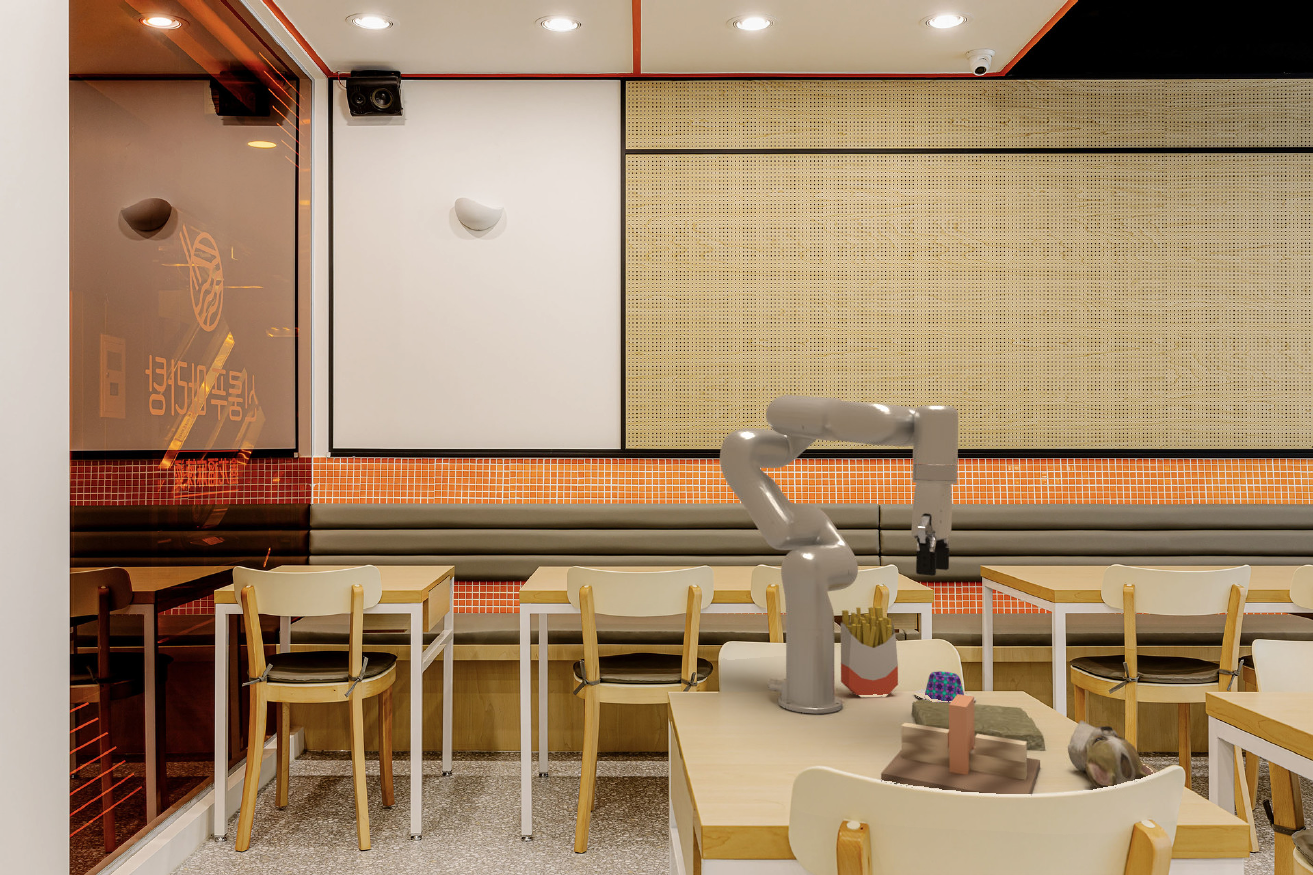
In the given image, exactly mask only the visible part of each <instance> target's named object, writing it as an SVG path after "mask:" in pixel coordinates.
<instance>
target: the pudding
mask: <svg viewBox="0 0 1313 875" xmlns="http://www.w3.org/2000/svg"><path fill="white" fill-rule="evenodd" d="M961 681H962V680H961V678H960V676H959V675H958V674H957V673H954V672H950V671H942V670H941V671H940V670H939V671H932V672H931V673H930V674H929V676H928V679H927V683H926V687H925V688H922V689H917V690H916V691H914V693H925V695H928V696H929V697H930V698H931V699H938V700H941V701H948V702H949V701H952V700H953V699H954V698H955V697H956V696H957V694H959V695H964V693H965V692H964V688H963V686H962V685H963V684H962V682H961ZM966 695H971V694H970V693H968V694H966ZM917 698H919V697H917ZM919 699H920V698H919ZM922 700H924V699H922ZM976 700H977V699H976V697H975V696H974V702H976Z"/></svg>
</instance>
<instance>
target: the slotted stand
mask: <svg viewBox="0 0 1313 875" xmlns="http://www.w3.org/2000/svg"><path fill="white" fill-rule="evenodd" d="M1040 769H1041V760H1040V759H1036V758H1032V757H1031V758H1030V757H1028V750H1027V742H1026V741H1020V740H1014V739H1007V738H1001V737H994V736H988V735H981V734H977V735H976V736H975V750H972V749H971V751H970V752H969V772H968V774H967V775H965V774H959V773H954V772H950V762H949V729H943V728H936V727H930V726H923V725H917V724H916V723H909V722H904V723H902V725H901V749H900V751H899V752H898V753H897V754H896V755H895V756H894V758H893V759H892V760H891V761H890V763H888V765H887V766H886V767H885V768H884V769H883V770H882V771H881V773H880V780H881V779H882V780H884V781H892V782H896V783H900V784H908V785H913V786H924V787H929V788H939V789H942V790H956V791H961V792H979V793H996V794H1031V795H1033V791H1034V787H1035V785H1036V782H1037V779H1038V776H1039V772H1040Z"/></svg>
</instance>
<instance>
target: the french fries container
mask: <svg viewBox="0 0 1313 875" xmlns="http://www.w3.org/2000/svg"><path fill="white" fill-rule="evenodd" d="M855 608H856V612H851V613H850V612H849V610H847V609H846V610H845V609H844V610H841V614H842V615H841V616H842V617H841V618H842V622H840V682H841V683H842V684H843V685H844V686H845V687H846V688H847V689H848V690H849V691H850V693H853V694H854V693H855V694H857V695H873V694H877V695H883V694H889V695H890V694H891V693H892V692H893V691H894V690H895V688H896V687H897V686H898V685H899V663H898V650H897V649H898V648H897V639H896V630H895V626H894V623H893V622H892V621H893V620H892V618H889V617H887V616H885V617H884V615H883V614H884V613H883V612H884V611H883V607H882V606H875V607H868V613H863V617H862V614H861V613H862V612H861V610H862V609H861V607H860V606H859V607H855ZM849 613H850V615H849ZM855 694H854V695H855ZM857 695H856V696H857Z"/></svg>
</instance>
